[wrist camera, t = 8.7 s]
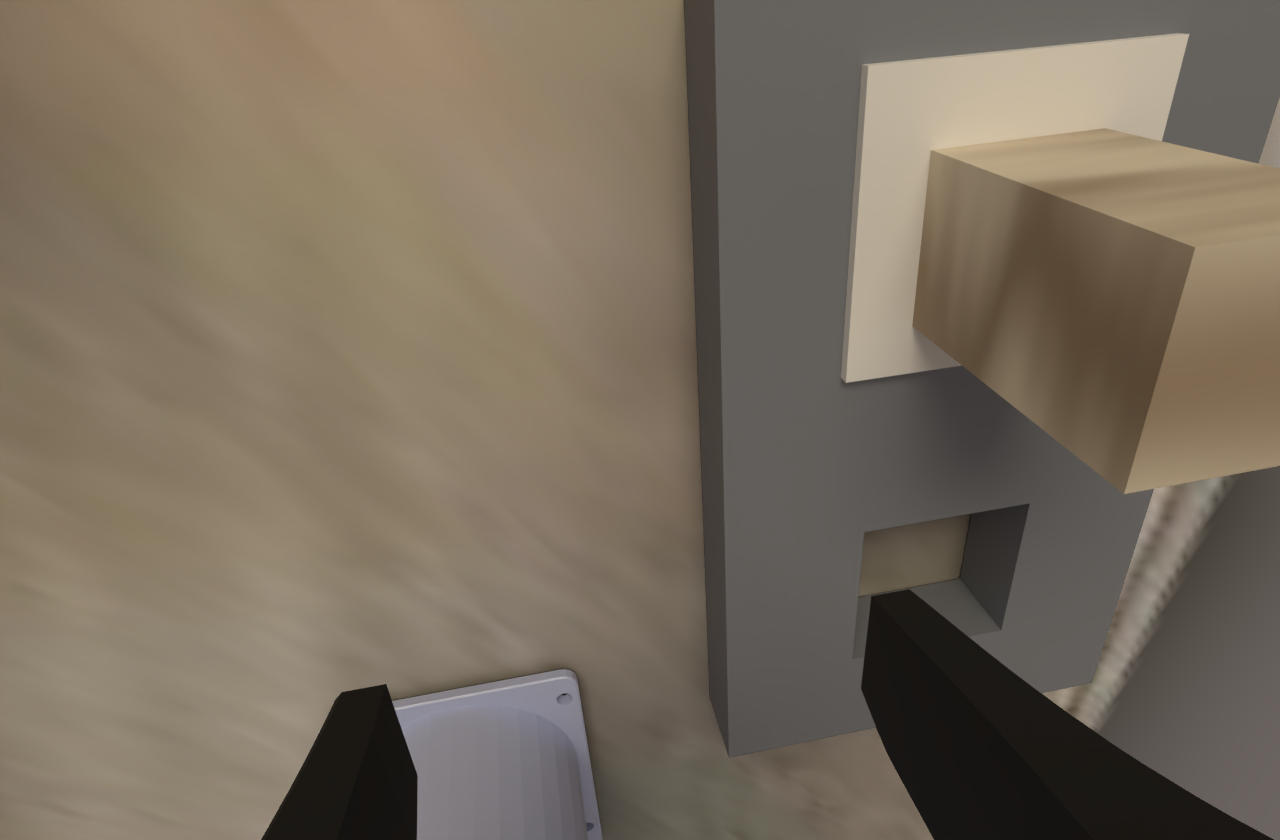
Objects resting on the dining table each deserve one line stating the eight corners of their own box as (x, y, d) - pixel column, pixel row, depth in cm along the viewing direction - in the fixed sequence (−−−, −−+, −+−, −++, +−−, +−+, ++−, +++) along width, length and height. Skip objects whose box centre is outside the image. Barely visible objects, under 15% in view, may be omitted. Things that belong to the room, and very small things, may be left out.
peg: (1068, 302, 19) (1346, 453, 13) (912, 326, 18) (1123, 494, 12) (1105, 128, 17) (1457, 209, 11) (930, 149, 16) (1195, 247, 10)
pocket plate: (1046, 631, 29) (1097, 689, 27) (709, 697, 27) (731, 765, 25) (1229, -57, 18) (1344, -63, 16) (683, -10, 16) (718, -9, 14)
